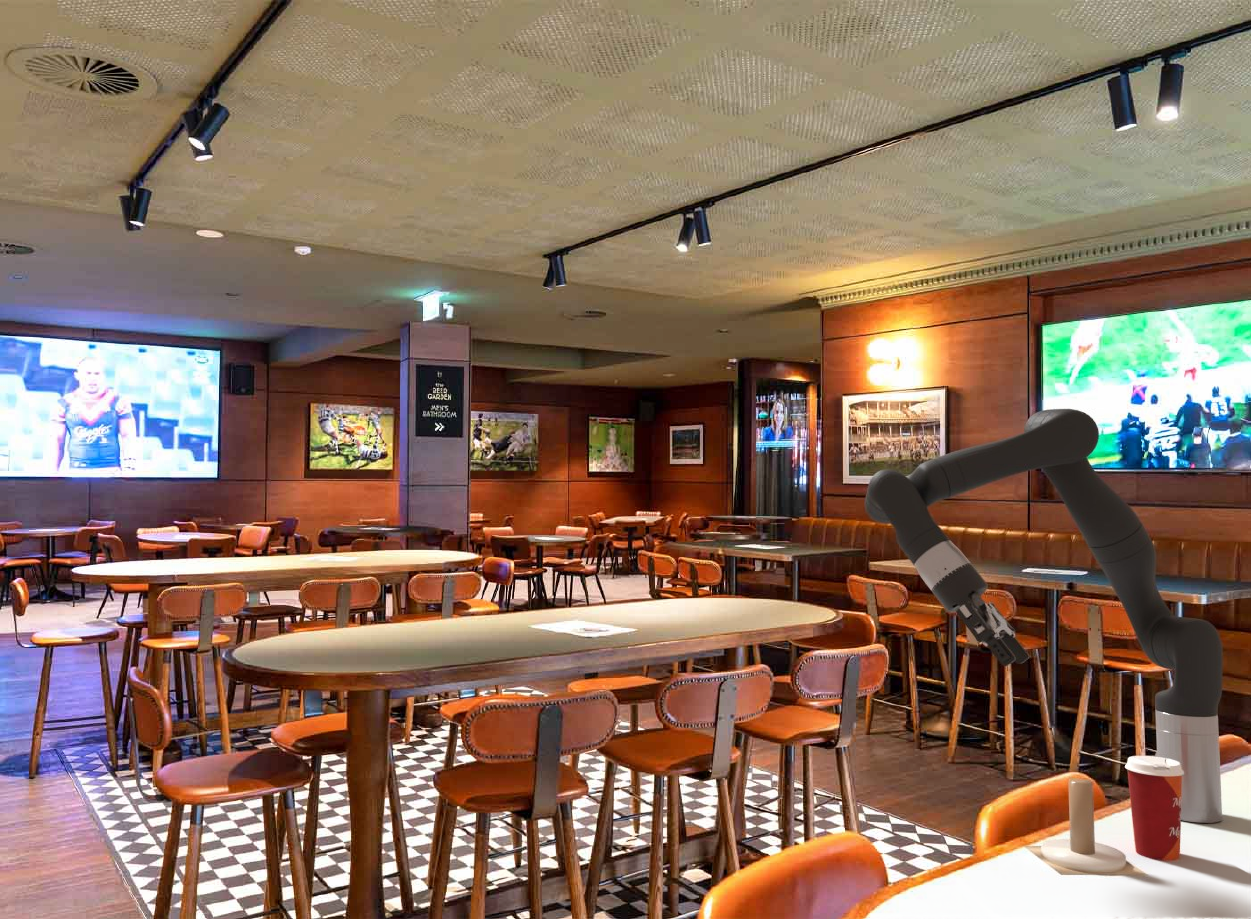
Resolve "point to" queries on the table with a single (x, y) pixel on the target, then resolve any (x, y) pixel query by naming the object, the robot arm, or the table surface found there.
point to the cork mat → (1128, 870)
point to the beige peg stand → (1082, 837)
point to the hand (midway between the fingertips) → (1017, 662)
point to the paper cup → (1155, 806)
